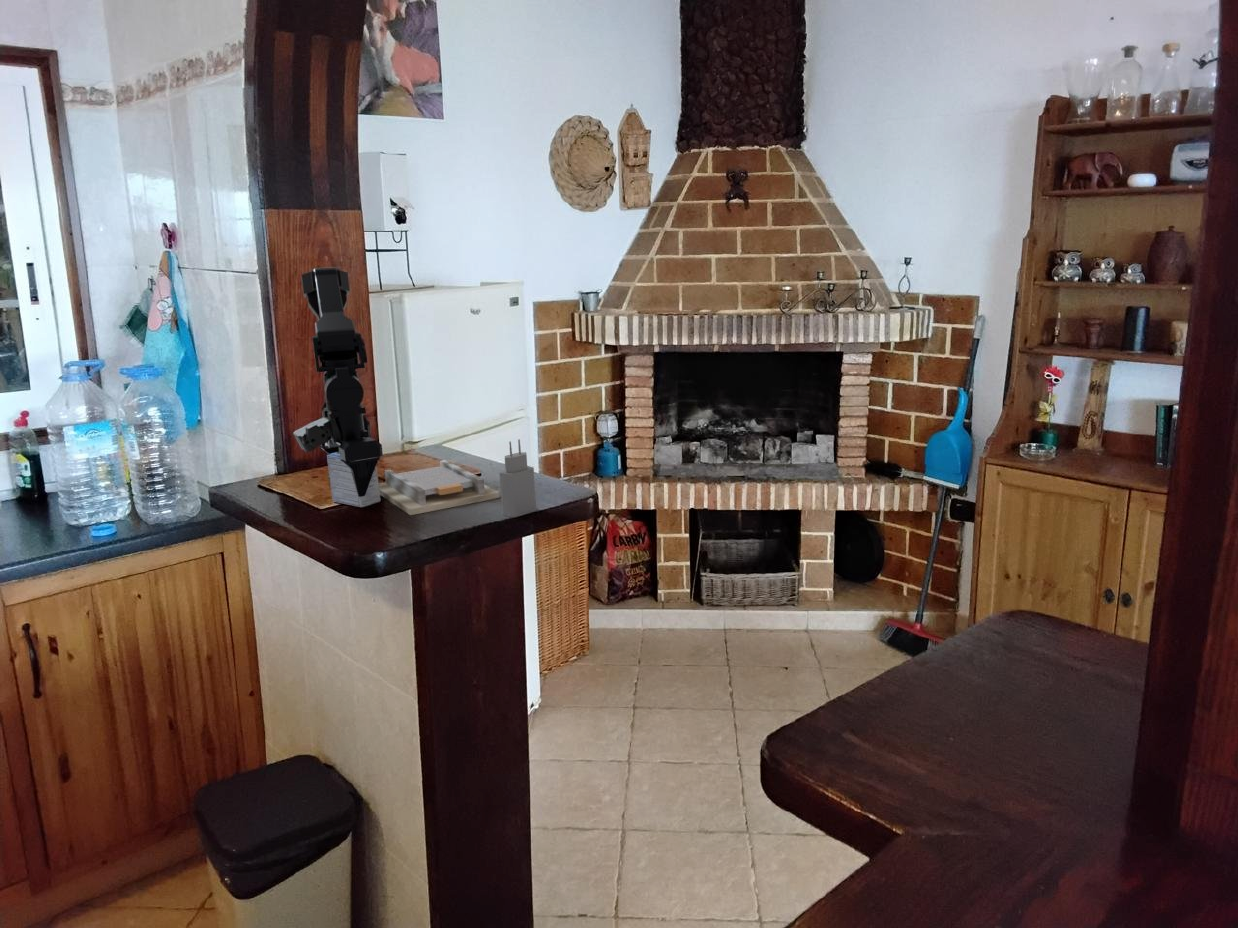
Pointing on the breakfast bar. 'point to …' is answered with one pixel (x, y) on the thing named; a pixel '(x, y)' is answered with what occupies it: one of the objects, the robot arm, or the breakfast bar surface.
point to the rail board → (417, 502)
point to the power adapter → (517, 485)
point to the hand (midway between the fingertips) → (354, 490)
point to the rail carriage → (438, 480)
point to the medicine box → (350, 484)
